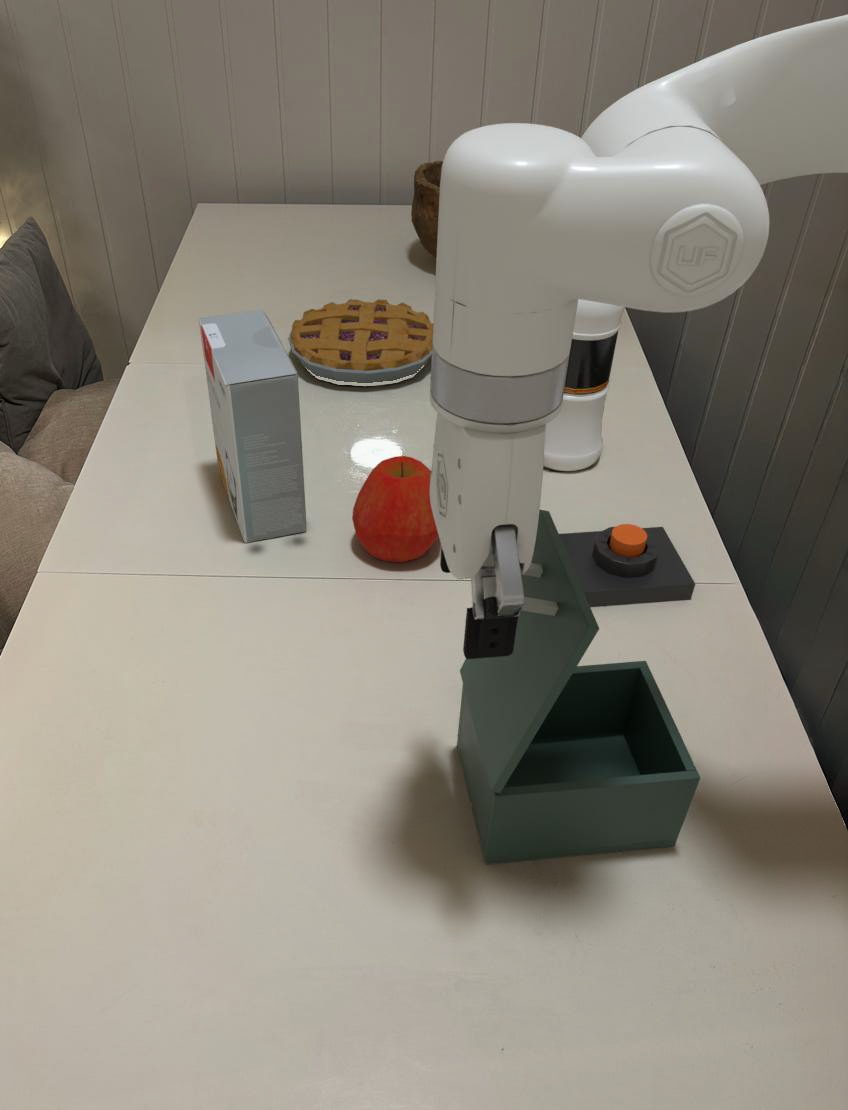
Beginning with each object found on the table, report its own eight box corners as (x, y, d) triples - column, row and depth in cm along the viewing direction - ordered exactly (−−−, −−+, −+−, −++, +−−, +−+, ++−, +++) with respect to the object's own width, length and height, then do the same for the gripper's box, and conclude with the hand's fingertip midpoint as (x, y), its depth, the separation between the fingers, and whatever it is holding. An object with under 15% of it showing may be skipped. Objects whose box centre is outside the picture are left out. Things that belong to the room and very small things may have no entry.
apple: (455, 565, 103) (462, 484, 96) (363, 578, 101) (362, 496, 94) (431, 511, 110) (435, 432, 103) (344, 523, 109) (342, 443, 102)
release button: (637, 536, 101) (640, 522, 100) (648, 556, 98) (652, 543, 97) (604, 538, 101) (607, 524, 100) (615, 559, 98) (618, 545, 97)
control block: (658, 542, 106) (666, 512, 103) (690, 600, 99) (699, 570, 96) (554, 549, 105) (558, 520, 102) (578, 608, 98) (584, 578, 95)
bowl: (393, 274, 161) (394, 180, 151) (432, 236, 173) (435, 147, 163) (499, 292, 155) (508, 196, 145) (531, 251, 168) (541, 161, 158)
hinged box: (626, 729, 86) (646, 660, 80) (674, 846, 77) (700, 777, 71) (456, 744, 85) (463, 675, 78) (485, 864, 75) (495, 796, 69)
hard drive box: (216, 471, 117) (197, 315, 103) (277, 461, 118) (266, 306, 105) (243, 545, 106) (224, 381, 92) (309, 533, 107) (301, 370, 94)
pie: (290, 325, 146) (288, 293, 143) (431, 322, 147) (433, 291, 144) (287, 395, 130) (285, 361, 127) (445, 392, 131) (447, 358, 128)
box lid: (549, 510, 68) (474, 496, 66) (600, 628, 59) (515, 615, 57) (468, 671, 78) (402, 662, 77) (500, 793, 69) (426, 785, 68)
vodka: (515, 464, 118) (546, 213, 97) (538, 428, 124) (571, 186, 103) (588, 481, 115) (635, 227, 94) (607, 444, 121) (656, 198, 100)
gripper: (409, 312, 59) (402, 537, 71) (460, 464, 47) (441, 706, 58) (527, 307, 60) (501, 530, 72) (608, 455, 47) (560, 697, 59)
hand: (474, 609), depth 65 cm, fingers open, 8 cm apart
